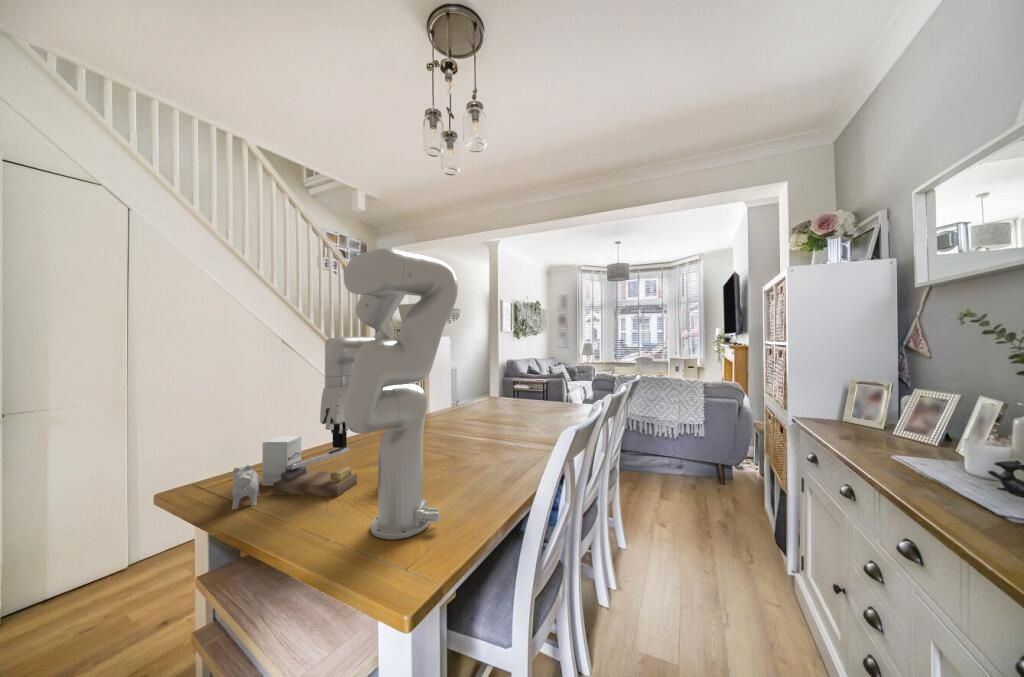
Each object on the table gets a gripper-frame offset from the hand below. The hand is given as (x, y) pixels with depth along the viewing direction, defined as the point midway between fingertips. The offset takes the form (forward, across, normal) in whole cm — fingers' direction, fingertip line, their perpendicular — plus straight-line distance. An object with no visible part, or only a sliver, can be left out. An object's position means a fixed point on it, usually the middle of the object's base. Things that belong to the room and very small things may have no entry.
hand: (339, 446), depth 100 cm
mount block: (+12, 0, -7) cm, 14 cm away
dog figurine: (+12, +11, -19) cm, 25 cm away
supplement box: (+12, -4, -21) cm, 24 cm away
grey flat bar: (+4, 0, -6) cm, 8 cm away
